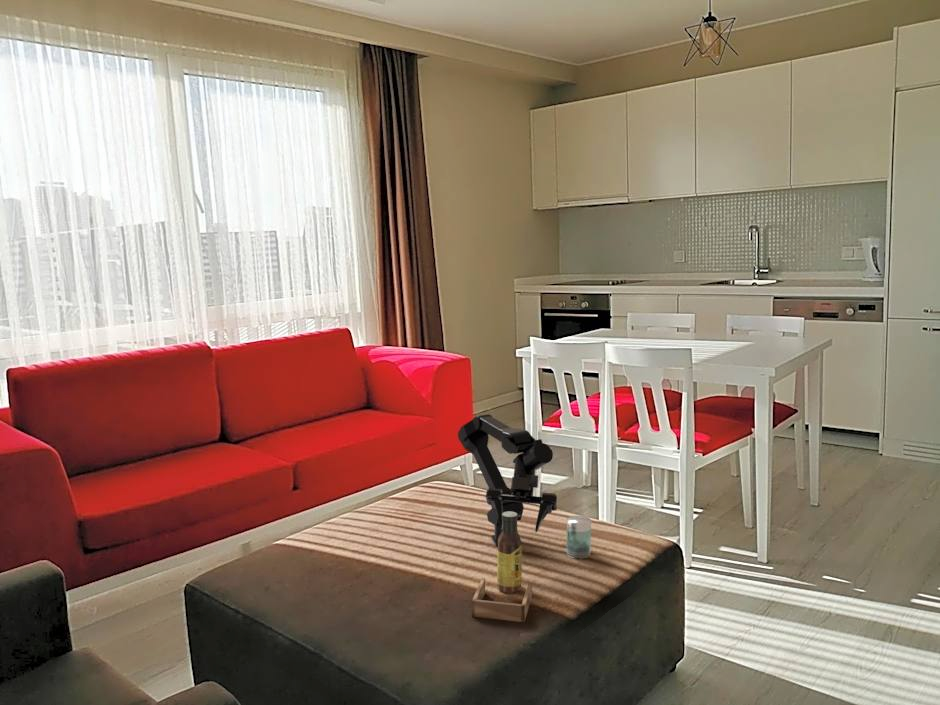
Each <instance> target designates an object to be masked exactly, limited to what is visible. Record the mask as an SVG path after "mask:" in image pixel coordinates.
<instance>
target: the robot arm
mask: <svg viewBox="0 0 940 705" xmlns="http://www.w3.org/2000/svg"><path fill="white" fill-rule="evenodd" d="M490 436H491V437H492V438H493V439H495V440H497V441H498V442H500V443H501V444H500V445H501V448H502V449H503V450H504V451H505V452H507V453H508V454H509V455H513V454H514V455H516V454H517V455H516V456H515V458H514V459H513V461H512V463H513V464H514V471H513V476H512V477H511V485H510V487H508V485H507V484H506V482H505V480H504V478H503V475H502V473H501V471H500V469H499V467H498V465H497V463H496V461H495V459H494V456H493V455H492V453H491V451H490V448H489V438H490ZM457 439H458V441H459V442H460V443H461V445H462V446H463V448H464V450H466V451H467V452H469V453H470V454H472V455H473V457H474V459H475V462H476V464H477V465H478V468H479V470H480V472H481V475H482V476H483V478H484V481H485V483H486V485H487V487H488V488H487V489H486V494H485V500H486V503H487V505H489V506H490V507H491V509H490V510H489V511H488V512H487V513H486V516H487V521H488V522H489V523H491V524H492V525H494V534H492V535H491V536H490V537H491V539H492V542H493V543H494V545H495V546H497V547H498V538H499V535H500V534H501V533H502V513H503V512H508V511H512V512H515V513H517V514H518V520H517V522H519V521H521V520H522V517H523V512H524V504H534V505H539V509H538V514H537V519H536V523H535V533H538V531H539V529H540V528H541V525H542V523H543V521H544V520H545V518H546V516H547V515H549V514H552V512H553V511H557V510H558V496H557V494H556V493H552V492H542V494H541V496H537V495H536V496H534V490H535V489H537V488H538V487H539V475H536V470H540V469H541V468H543V467H544V466H545V465H547V464H549V463H550V462H551V461H552V460H553V458H554V457H553V456H554V453H553V450H552V448H550V446H549V445H548V444H546V443H544V442H543V440H542V439H541V438H539V439H535V438H534V437H533V436H532V435H531V433H530V432H529V431H528V430H526V429H523V428H513V427H510V426H508V425H507V424H505V423H503V422H501V421H500V420H498V419H496V418H494V417H493V416H492V415H491V414H489V413H486V414H479V415H476V416H474V417H473V418H472V419H471V420H470V421H468V422H467V423H465V424H463V425H462V426H460V428H459V430H458V431H457Z"/></svg>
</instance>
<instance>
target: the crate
mask: <svg viewBox="0 0 940 705" xmlns="http://www.w3.org/2000/svg"><path fill="white" fill-rule="evenodd" d="M532 588H533V584H532V582H528V584H527V587H526V590H525V593H524V597H523V599H522V602H521V604H520V603H513V602H502V601H493V600H483V599H484V596H485V594H486V577H481V580H480V582H479V584H478V586H477V588H476V590H475V593H474V595H473V597H472V599H471V617H474V618H485V619H494V620H500V621H501V620H502V621H509V622H520V623H525V622H526V617H527V615H528V612H529V608H530V606H531V601H532V598H533V596H532V595H533V594H532V593H533V589H532Z"/></svg>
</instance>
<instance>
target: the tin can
mask: <svg viewBox="0 0 940 705" xmlns="http://www.w3.org/2000/svg"><path fill="white" fill-rule="evenodd" d="M591 544H592V519H590V518H589V517H588V516H584V515H572V516H569V517H568V518H567V521H566V555H569V556H571V557H574V558H586V559H588V558H590V557H591V549H592V545H591ZM569 556H568V557H569ZM589 556H590V557H589ZM571 557H570V558H571ZM587 557H588V558H587ZM574 558H573V559H574Z"/></svg>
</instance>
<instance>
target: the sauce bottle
mask: <svg viewBox="0 0 940 705" xmlns="http://www.w3.org/2000/svg"><path fill="white" fill-rule="evenodd" d="M517 520H518V514H517V513H515V512H512V511H508V512H503V513H502V533H501V534H500V535H499V538H498V546H497V551H496V554H497V555H496V557H497V558H496V562H497V564H496V566H497V567H496V570H497V571H496V578H497V579H496V582H497V588H498V590H499V591H500V592H502V593H507V594H512V593H516V592H519V591H520V590H521V589H522V582H523V581H522V580H523V579H522V578H523V577H522V576H523V575H522V571H523V568H522V567H523V565H522V564H523V542H522V540H521V537H520V535H519V531H518V521H519V520H518V521H517Z"/></svg>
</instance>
